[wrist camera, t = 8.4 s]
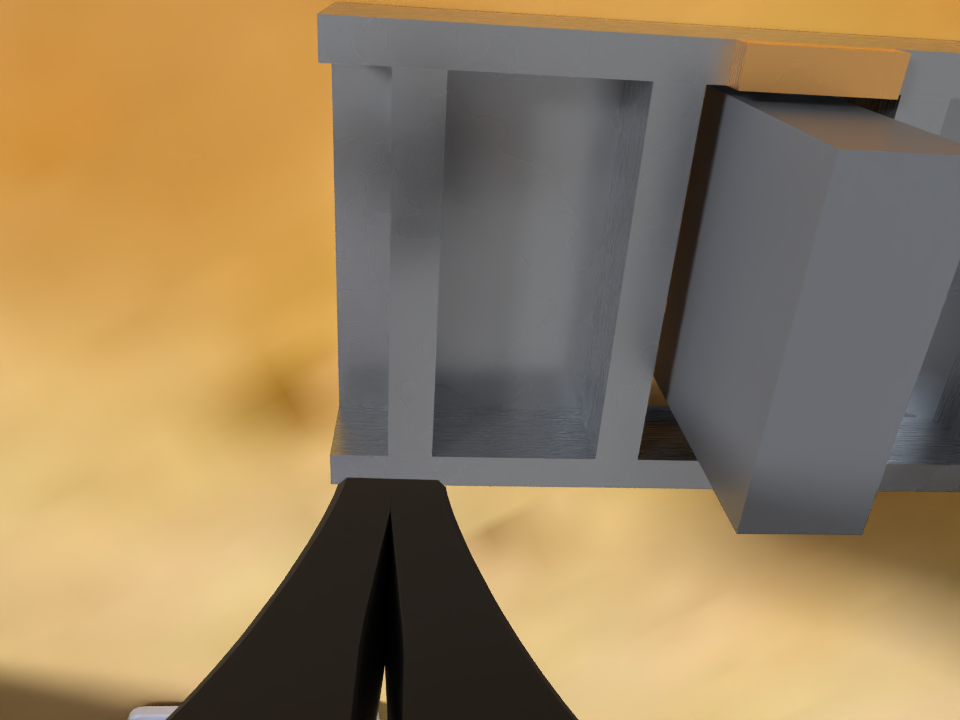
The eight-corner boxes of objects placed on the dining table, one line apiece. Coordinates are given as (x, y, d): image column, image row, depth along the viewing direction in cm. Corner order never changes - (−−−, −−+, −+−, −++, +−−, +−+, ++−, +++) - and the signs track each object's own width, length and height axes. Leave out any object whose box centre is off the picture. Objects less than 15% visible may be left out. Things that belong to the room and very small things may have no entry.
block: (746, 378, 20) (862, 534, 15) (653, 376, 20) (736, 533, 15) (816, 90, 17) (996, 156, 12) (707, 84, 17) (838, 149, 11)
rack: (981, 425, 23) (1077, 508, 19) (343, 412, 21) (328, 499, 18) (1133, 51, 18) (1295, 76, 15) (335, 2, 17) (312, 16, 13)
